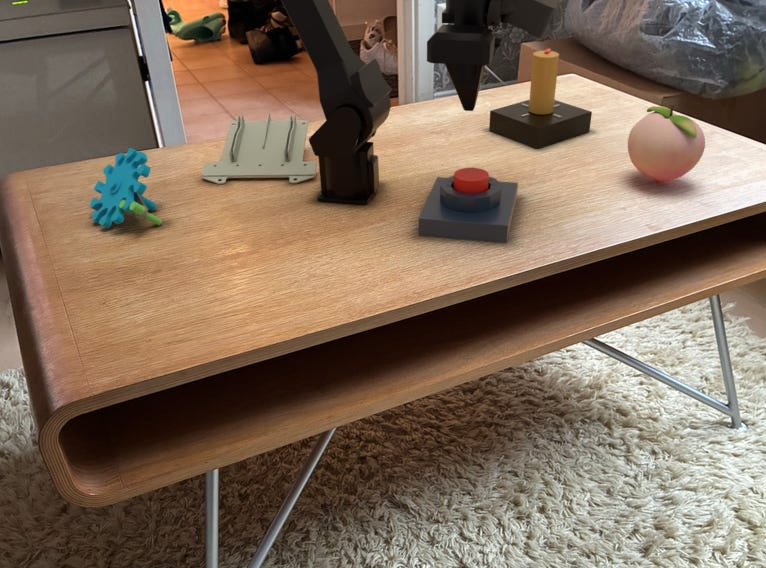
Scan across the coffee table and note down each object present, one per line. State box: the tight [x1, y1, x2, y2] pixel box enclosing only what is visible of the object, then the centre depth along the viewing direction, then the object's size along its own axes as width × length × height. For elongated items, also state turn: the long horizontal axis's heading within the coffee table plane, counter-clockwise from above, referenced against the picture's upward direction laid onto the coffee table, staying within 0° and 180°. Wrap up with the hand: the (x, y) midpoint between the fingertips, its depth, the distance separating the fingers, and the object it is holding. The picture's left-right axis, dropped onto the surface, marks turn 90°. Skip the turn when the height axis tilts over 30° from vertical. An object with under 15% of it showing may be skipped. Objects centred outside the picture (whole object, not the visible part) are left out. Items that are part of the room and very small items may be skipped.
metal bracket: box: [201, 111, 318, 185], centre depth 104 cm, size 14×6×15 cm
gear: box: [89, 147, 163, 229], centre depth 91 cm, size 11×6×10 cm
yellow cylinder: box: [528, 47, 560, 115], centre depth 109 cm, size 4×4×8 cm
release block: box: [417, 174, 519, 244], centre depth 89 cm, size 12×10×4 cm
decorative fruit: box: [627, 103, 706, 184], centre depth 94 cm, size 9×8×10 cm
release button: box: [453, 167, 490, 194], centre depth 88 cm, size 4×4×2 cm
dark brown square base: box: [488, 99, 593, 150], centre depth 113 cm, size 11×10×3 cm
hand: (469, 109), depth 85 cm, fingers closed
